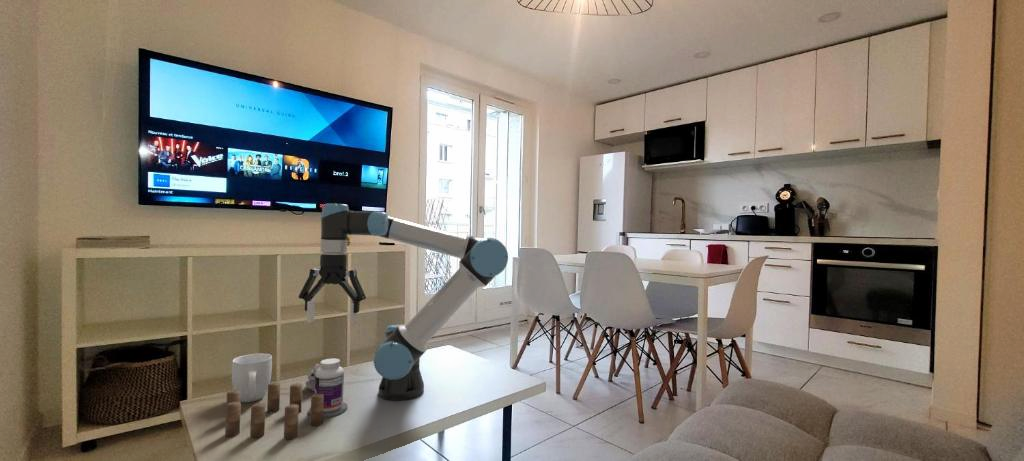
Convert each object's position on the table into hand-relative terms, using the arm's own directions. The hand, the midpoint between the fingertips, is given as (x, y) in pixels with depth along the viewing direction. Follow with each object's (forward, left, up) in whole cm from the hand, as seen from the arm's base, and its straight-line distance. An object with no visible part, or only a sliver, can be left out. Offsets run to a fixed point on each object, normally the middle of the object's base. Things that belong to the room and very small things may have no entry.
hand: (331, 322), depth 125 cm
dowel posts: (+11, +10, -27) cm, 31 cm away
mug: (+28, -4, -27) cm, 39 cm away
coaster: (0, 0, -27) cm, 27 cm away
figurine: (+12, -17, -27) cm, 34 cm away
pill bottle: (0, 0, -26) cm, 26 cm away
